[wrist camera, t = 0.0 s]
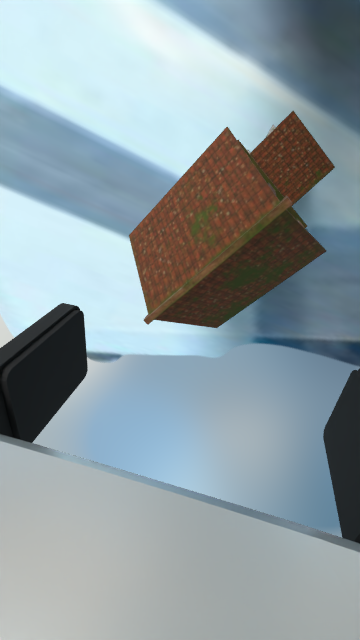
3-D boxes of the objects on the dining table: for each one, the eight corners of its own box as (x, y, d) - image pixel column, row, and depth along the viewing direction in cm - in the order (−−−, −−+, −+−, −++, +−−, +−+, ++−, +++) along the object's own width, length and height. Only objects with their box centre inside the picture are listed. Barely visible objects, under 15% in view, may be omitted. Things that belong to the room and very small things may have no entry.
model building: (329, 174, 39) (448, 220, 13) (237, 250, 46) (199, 375, 20) (279, 107, 37) (304, 9, 11) (191, 197, 44) (86, 263, 18)
